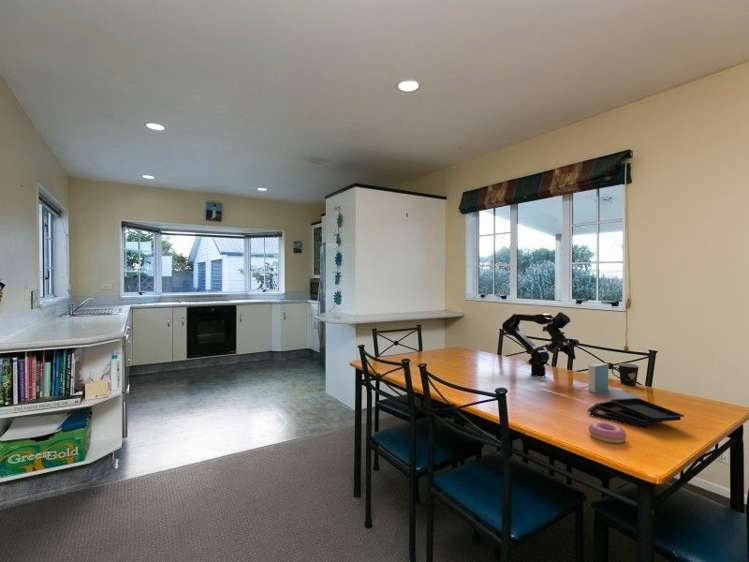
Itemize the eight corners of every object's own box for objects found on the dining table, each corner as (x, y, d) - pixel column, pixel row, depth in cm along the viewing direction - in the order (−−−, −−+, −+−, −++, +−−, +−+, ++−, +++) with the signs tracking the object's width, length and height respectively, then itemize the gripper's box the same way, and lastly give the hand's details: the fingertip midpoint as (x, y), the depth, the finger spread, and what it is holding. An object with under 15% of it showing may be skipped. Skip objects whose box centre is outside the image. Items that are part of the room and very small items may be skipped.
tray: (585, 419, 145) (585, 405, 145) (592, 402, 163) (592, 391, 163) (686, 439, 127) (686, 424, 127) (681, 418, 146) (681, 405, 146)
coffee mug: (637, 384, 193) (638, 364, 193) (639, 388, 185) (639, 367, 185) (611, 380, 199) (611, 361, 199) (611, 384, 192) (611, 364, 191)
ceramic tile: (588, 390, 178) (588, 365, 178) (601, 387, 183) (602, 362, 183) (594, 392, 175) (594, 366, 175) (608, 388, 180) (608, 364, 180)
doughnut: (586, 439, 126) (587, 427, 126) (590, 429, 135) (590, 417, 135) (626, 448, 120) (626, 435, 120) (626, 436, 129) (626, 424, 129)
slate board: (582, 392, 177) (582, 390, 177) (602, 388, 185) (602, 386, 185) (623, 404, 162) (623, 401, 162) (643, 398, 169) (643, 396, 169)
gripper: (555, 341, 209) (573, 366, 199) (534, 343, 199) (552, 369, 190) (570, 329, 202) (589, 354, 192) (548, 330, 192) (567, 357, 183)
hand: (574, 359), depth 190 cm, fingers closed
